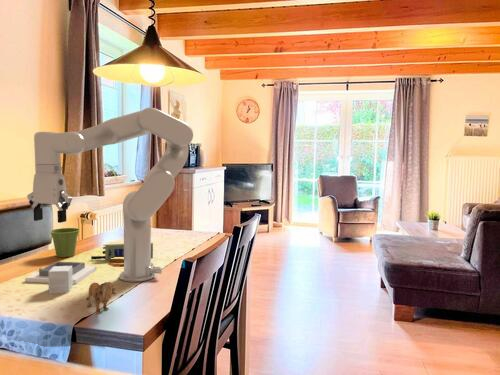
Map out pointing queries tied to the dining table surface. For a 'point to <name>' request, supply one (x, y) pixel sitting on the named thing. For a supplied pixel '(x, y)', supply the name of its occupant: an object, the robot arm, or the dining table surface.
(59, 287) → the product box
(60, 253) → the plant pot
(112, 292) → the lion figurine
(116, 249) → the handheld radio
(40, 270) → the dock
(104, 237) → the dining table surface
